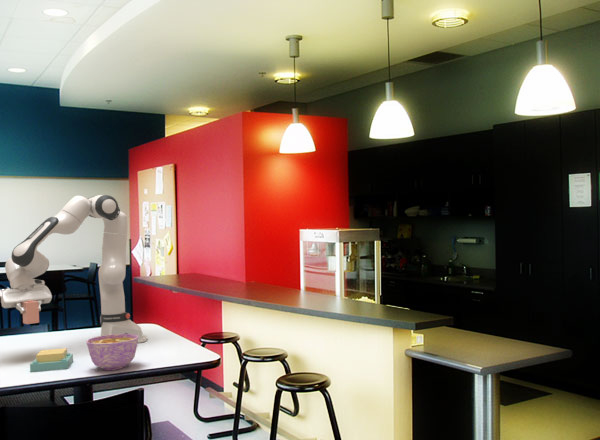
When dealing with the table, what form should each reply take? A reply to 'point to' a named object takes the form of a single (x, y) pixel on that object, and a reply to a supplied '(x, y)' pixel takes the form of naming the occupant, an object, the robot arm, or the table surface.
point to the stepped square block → (51, 360)
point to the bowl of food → (112, 350)
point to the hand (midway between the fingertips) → (31, 311)
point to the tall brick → (31, 312)
